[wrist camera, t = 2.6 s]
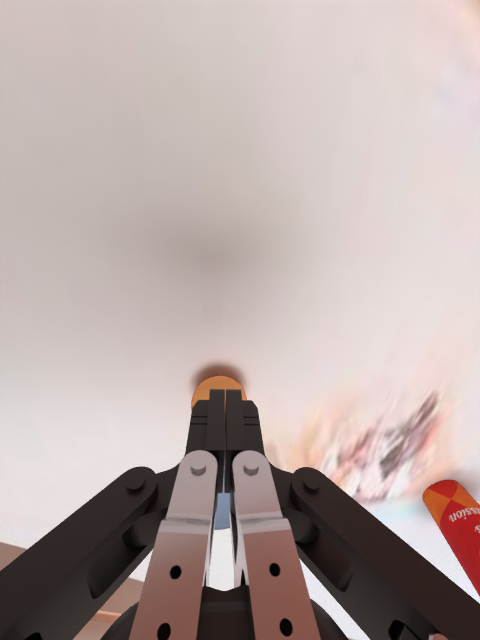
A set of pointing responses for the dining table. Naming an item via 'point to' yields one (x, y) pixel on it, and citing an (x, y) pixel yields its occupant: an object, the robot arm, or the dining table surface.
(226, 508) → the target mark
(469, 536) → the paper cup
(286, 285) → the dining table surface
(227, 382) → the ball
